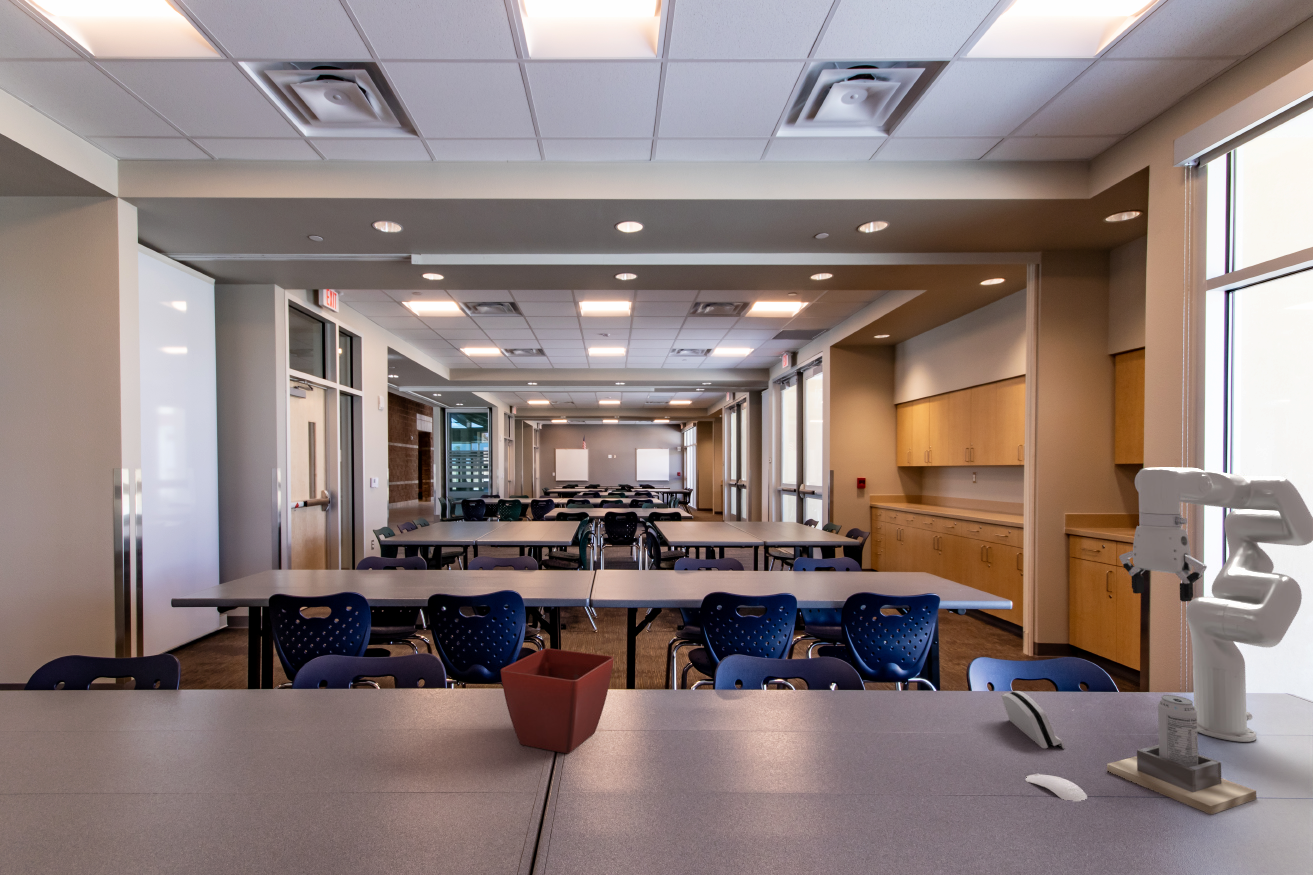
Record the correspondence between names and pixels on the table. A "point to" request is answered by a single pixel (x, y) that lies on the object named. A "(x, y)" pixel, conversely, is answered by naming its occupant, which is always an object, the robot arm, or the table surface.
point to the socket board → (1183, 780)
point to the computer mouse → (1059, 786)
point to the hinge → (1030, 719)
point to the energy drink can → (1178, 730)
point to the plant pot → (556, 697)
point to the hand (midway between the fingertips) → (1161, 596)
